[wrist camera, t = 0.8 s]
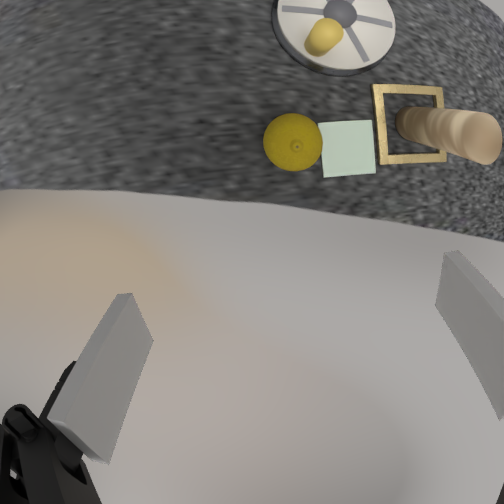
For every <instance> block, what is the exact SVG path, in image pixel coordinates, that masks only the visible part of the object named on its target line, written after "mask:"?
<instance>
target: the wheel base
mask: <svg viewBox="0 0 504 504" xmlns="http://www.w3.org/2000/svg"><path fill="white" fill-rule="evenodd" d="M278 1H279V0H275V1H274V4H273V9H272V24H273V29H274V32H275V35H276V37H277V39H278V41H279V43H280V44H281V46H282V47H283V48H284V50H285V51H286V52H287V53H288V54H289V55H290V56H291V57H292V58H293V59H294V60H296V61H297V62H298V63H300V64H301V65H303V66H305V67H307V68H309V69H311V70H313V71H315V72H318V73H321V74H325V75H331V76H351V75H356V74H359V73H362V72H365V71H368V70H370V69H371V68H373V67H375V66H376V65H378V64H379V63H380V62H381V61H382V60H383V59H384V58H385V56H386V55H387V54H388V52H389V50H390V49H389V50H388V51H387V53H386V54H385V55H384V56H383V57H382V58H381V59H379V60H378V61H376V62H374V63H372V64H370V65H368V66H365V67H362V68H359V69H354V70H334V69H329V68H325V67H322V66H319V65H317V64H314V63H312V62H311V61H309V60H307V59H305V58H304V57H302V56H301V55H300V54H299V53H297V52H296V51H295V50H294V49H293V48H292V47H291V46H290V45H289V43H288V42H287V41H286V39H285V38H284V36H283V34H282V32H281V30H280V27H279V23H278V18H277V9H278Z"/></svg>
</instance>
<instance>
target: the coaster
mask: <svg viewBox="0 0 504 504" xmlns="http://www.w3.org/2000/svg"><path fill="white" fill-rule="evenodd" d="M317 124H318V128H319V130H320V132H321V134H322V139H323V147H322V152H321V158H322V168H323V177H324V178H325V177H335V176H345V175H357V174H369V173H376V172H375V154H374V141H373V129H372V120H353V121H336V122H323V123H317Z"/></svg>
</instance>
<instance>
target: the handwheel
mask: <svg viewBox="0 0 504 504" xmlns="http://www.w3.org/2000/svg"><path fill="white" fill-rule="evenodd" d="M277 18H278V23H279V27H280V30H281V32H282V34H283V36H284V38H285V39H286V41H287V42H288V43H289V45H290V46H291V47H292V48H293V49H294V50H295V51H296V52H297V53H299V54H300V55H301V56H302V57H304V58H305V59H307V60H309V61H311V62H312V63H314V64H317V65H319V66H322V67H325V68H329V69H334V70H354V69H359V68H362V67H365V66H368V65H370V64H372V63H374V62H376V61H378V60H379V59H381V58H382V57H383V56H384V55H385V54H386V53H387V51H388V50H389V49H390V47H391V45H392V43H393V40H394V36H395V19H394V15H393V12H392V10H391V7H390V5H389V3H388V2H387V0H279V1H278V9H277Z"/></svg>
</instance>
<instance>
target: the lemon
mask: <svg viewBox="0 0 504 504" xmlns="http://www.w3.org/2000/svg"><path fill="white" fill-rule="evenodd" d="M263 145H264V149H265V152H266V155H267V156H268V158H269V159H270V161H272V162H273V163H274V164H275V165H276V166H278V167H279V168H281V169H284V170H287V171H300V170H304V169H306V168H309V167H310V166H312V165H313V164H314V163H315V162H316V161H317V159H318V158H319V157H320V154H321V152H322V147H323V139H322V134H321V132H320V130H319V128H318V127H317V125H316V124H315V123H314V122H313V121H312V120H311V119H309V118H308V117H306V116H304V115H301V114H296V113H289V114H284V115H281V116H278V117H277V118H275V119H274V120H273V121H272V122H271V123H270V124H269V125H268V127H267V129H266V131H265V133H264V138H263Z"/></svg>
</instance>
